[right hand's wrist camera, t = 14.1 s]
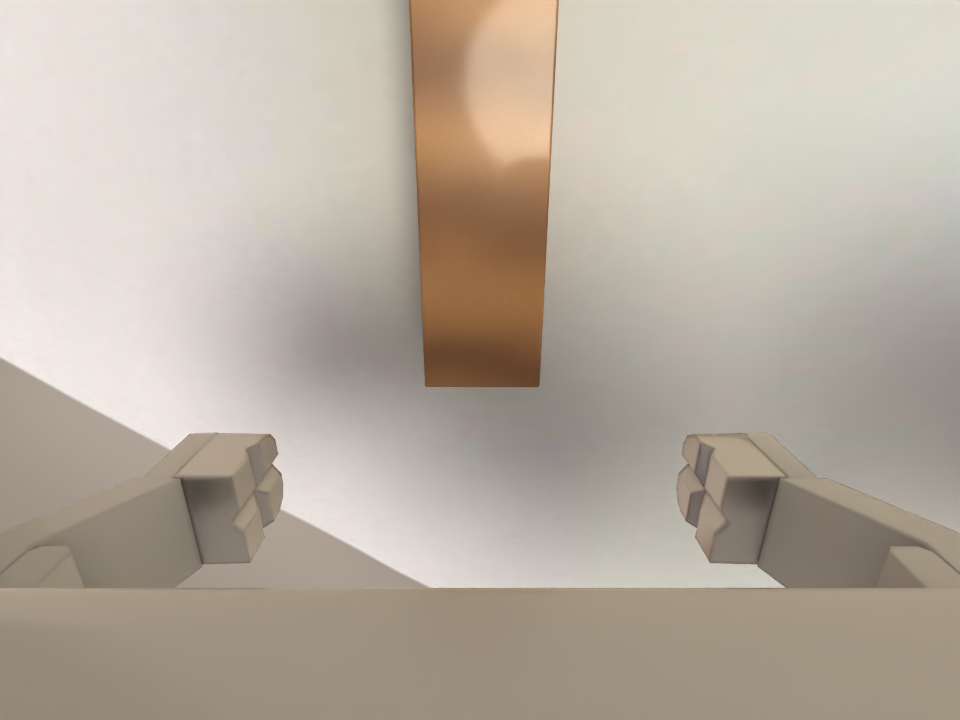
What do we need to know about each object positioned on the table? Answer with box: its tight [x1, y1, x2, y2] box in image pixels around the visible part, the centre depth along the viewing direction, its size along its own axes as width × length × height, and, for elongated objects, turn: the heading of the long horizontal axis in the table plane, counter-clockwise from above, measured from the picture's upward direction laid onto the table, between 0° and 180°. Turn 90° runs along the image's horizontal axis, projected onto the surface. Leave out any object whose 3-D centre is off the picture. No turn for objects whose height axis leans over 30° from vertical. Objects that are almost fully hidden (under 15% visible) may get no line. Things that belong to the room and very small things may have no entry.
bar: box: [409, 0, 559, 387], centre depth 24 cm, size 25×6×9 cm, turn 0°
